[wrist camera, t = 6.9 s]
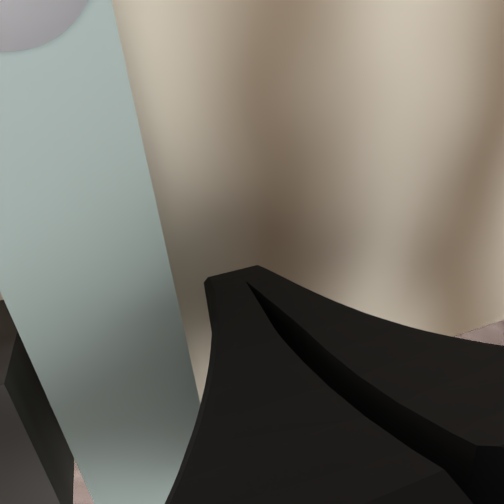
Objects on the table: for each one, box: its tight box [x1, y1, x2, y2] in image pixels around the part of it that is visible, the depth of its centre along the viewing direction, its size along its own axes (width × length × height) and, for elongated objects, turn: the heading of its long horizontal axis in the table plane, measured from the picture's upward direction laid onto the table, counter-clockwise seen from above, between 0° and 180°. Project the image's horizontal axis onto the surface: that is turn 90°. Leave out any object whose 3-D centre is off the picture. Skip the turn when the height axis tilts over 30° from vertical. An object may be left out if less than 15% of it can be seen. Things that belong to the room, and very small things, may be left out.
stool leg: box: [0, 0, 200, 504], centre depth 8 cm, size 13×2×3 cm, turn 6°
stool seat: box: [0, 0, 504, 504], centre depth 10 cm, size 18×14×5 cm
